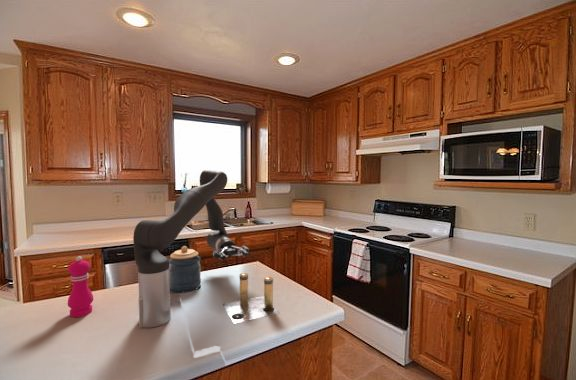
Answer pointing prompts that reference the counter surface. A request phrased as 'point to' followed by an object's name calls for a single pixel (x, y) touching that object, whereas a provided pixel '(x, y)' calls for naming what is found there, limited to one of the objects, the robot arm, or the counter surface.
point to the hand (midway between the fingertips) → (235, 256)
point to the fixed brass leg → (268, 293)
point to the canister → (184, 270)
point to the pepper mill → (80, 289)
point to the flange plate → (248, 310)
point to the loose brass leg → (244, 289)
